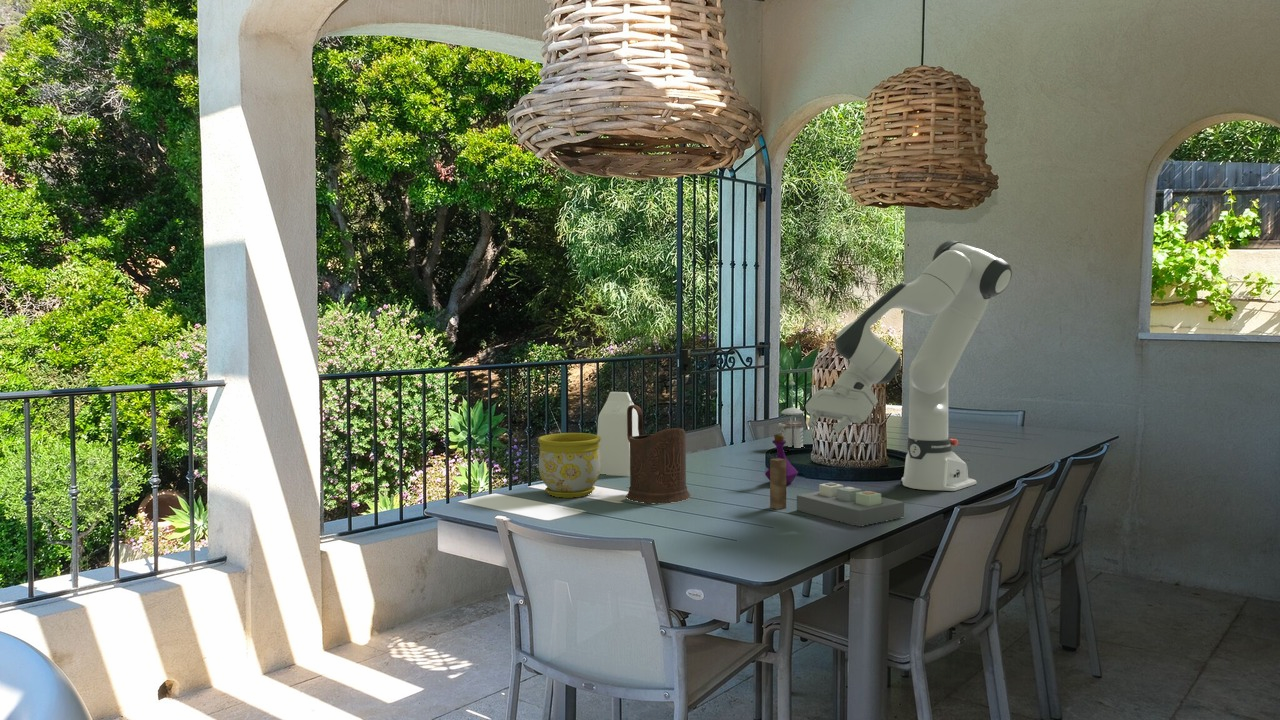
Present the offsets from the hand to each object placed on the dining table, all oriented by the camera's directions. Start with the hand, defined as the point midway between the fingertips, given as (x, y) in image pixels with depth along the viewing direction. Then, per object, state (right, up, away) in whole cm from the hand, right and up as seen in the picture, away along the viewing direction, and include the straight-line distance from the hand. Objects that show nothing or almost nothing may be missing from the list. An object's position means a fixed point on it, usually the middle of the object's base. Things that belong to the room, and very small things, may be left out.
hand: (822, 428), depth 247 cm
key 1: (+1, -18, -5) cm, 19 cm away
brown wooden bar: (-12, -21, -3) cm, 24 cm away
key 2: (+8, -18, -16) cm, 26 cm away
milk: (-56, -18, +50) cm, 77 cm away
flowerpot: (-69, -20, +18) cm, 75 cm away
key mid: (+5, -18, -11) cm, 22 cm away
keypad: (+5, -21, -11) cm, 24 cm away
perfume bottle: (-7, -19, +29) cm, 35 cm away
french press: (+7, -15, +90) cm, 91 cm away
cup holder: (-46, -20, +15) cm, 52 cm away
